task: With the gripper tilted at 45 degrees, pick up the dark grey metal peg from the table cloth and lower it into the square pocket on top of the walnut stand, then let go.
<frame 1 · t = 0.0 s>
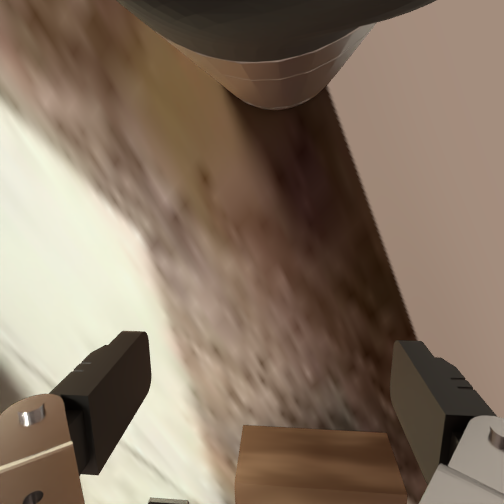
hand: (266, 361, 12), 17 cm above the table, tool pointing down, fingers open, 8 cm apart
stand: (310, 494, 36), on the table
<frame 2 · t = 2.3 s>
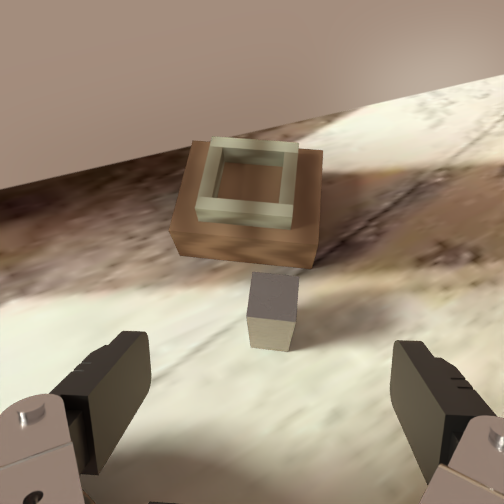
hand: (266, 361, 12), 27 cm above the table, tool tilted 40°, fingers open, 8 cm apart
stand: (251, 216, 47), on the table
peg: (271, 331, 40), on the table
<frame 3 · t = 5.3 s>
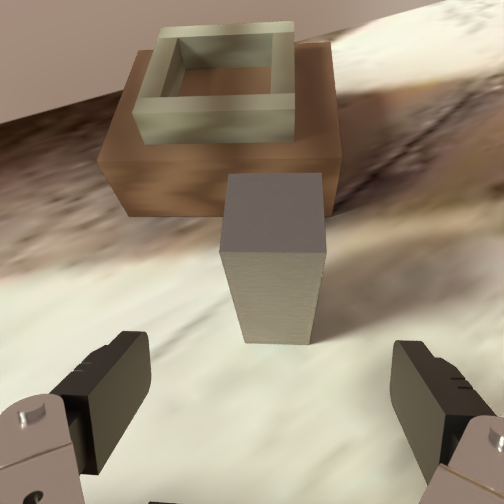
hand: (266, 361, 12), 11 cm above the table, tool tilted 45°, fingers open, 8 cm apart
stand: (234, 156, 32), on the table
peg: (277, 314, 24), on the table
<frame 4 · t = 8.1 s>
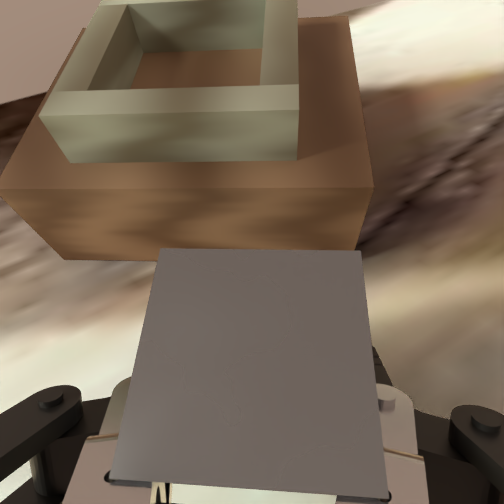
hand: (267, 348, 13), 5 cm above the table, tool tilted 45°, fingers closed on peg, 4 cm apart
stand: (214, 173, 23), on the table
peg: (270, 425, 16), on the table, touching gripper
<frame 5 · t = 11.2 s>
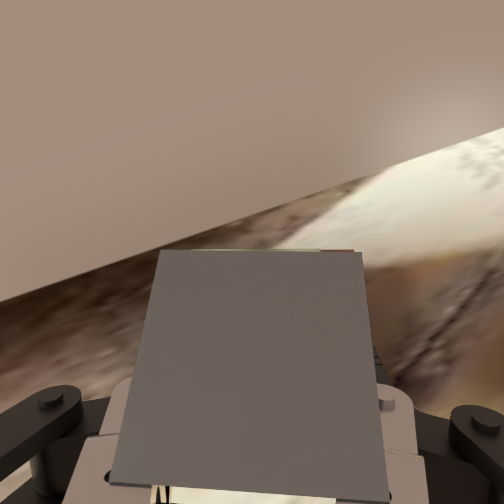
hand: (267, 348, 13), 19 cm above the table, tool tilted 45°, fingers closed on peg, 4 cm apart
peg: (270, 426, 16), point 15 cm above the table, touching gripper
when the fingers open (12 cm above the table, at t = 14.5 s): peg drops 1 cm, resting on stand.
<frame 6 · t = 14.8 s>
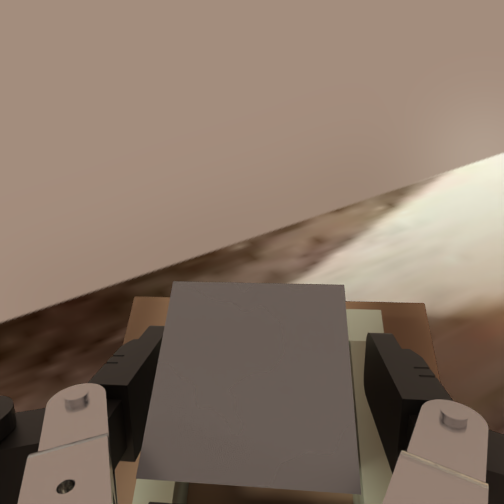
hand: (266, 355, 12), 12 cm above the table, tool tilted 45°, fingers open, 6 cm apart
stand: (273, 440, 22), on the table
peg: (268, 429, 17), point 6 cm above the table, touching stand
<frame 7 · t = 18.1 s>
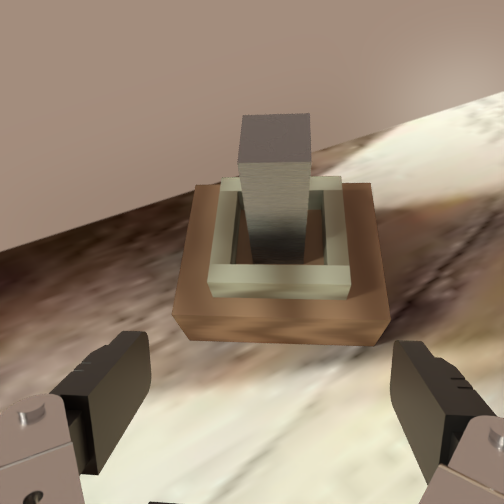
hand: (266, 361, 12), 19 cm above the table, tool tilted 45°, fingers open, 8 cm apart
stand: (280, 277, 35), on the table
peg: (278, 243, 30), point 6 cm above the table, touching stand
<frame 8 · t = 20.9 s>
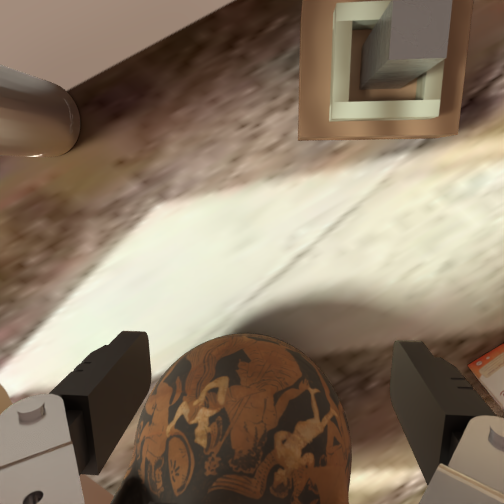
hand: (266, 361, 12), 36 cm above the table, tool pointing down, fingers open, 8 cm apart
stand: (368, 80, 42), on the table
peg: (381, 67, 36), point 6 cm above the table, touching stand
vase: (252, 384, 53), on the table
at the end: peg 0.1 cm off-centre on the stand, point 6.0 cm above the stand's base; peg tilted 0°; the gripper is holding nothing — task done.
